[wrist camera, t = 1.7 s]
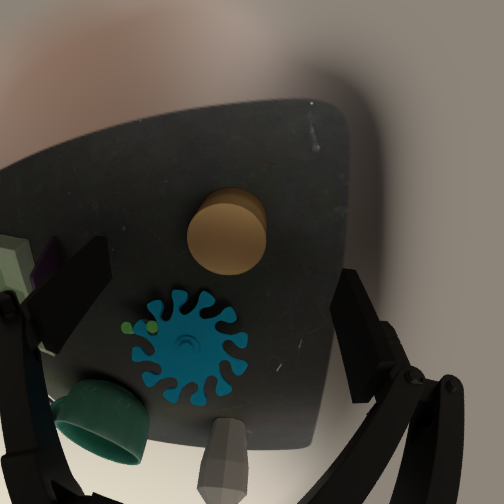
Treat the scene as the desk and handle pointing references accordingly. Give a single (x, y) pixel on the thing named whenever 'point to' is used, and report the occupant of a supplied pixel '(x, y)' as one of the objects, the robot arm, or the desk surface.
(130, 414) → the mug
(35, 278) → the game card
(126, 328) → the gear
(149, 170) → the desk surface
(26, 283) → the divided tray
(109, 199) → the desk surface
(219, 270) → the cylinder
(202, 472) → the low poly bottle
